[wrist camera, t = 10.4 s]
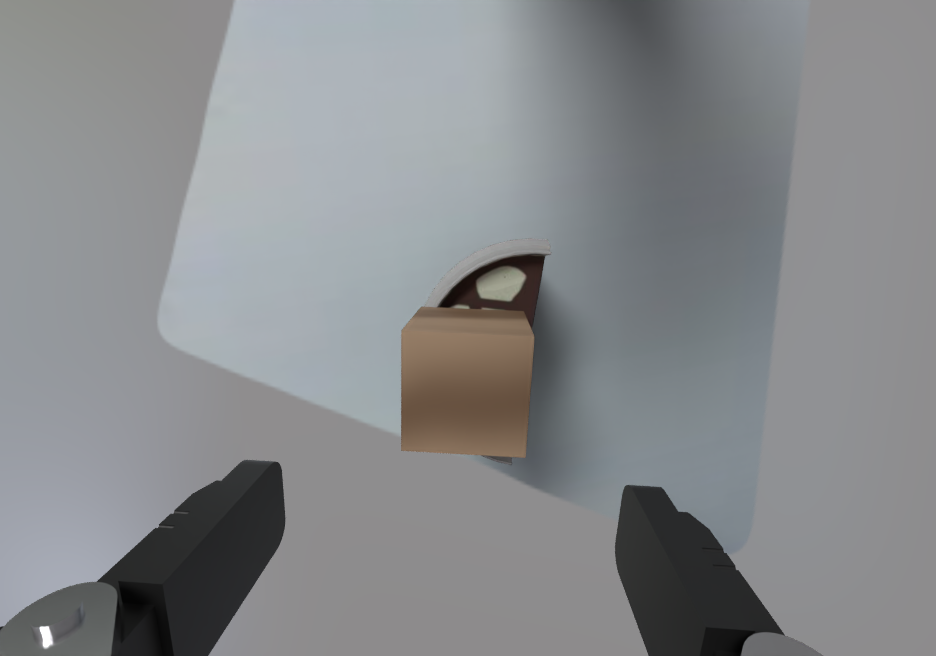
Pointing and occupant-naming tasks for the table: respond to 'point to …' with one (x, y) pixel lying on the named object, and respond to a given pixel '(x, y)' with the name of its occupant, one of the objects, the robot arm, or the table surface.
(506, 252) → the food container
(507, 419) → the walnut cube
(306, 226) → the table surface
